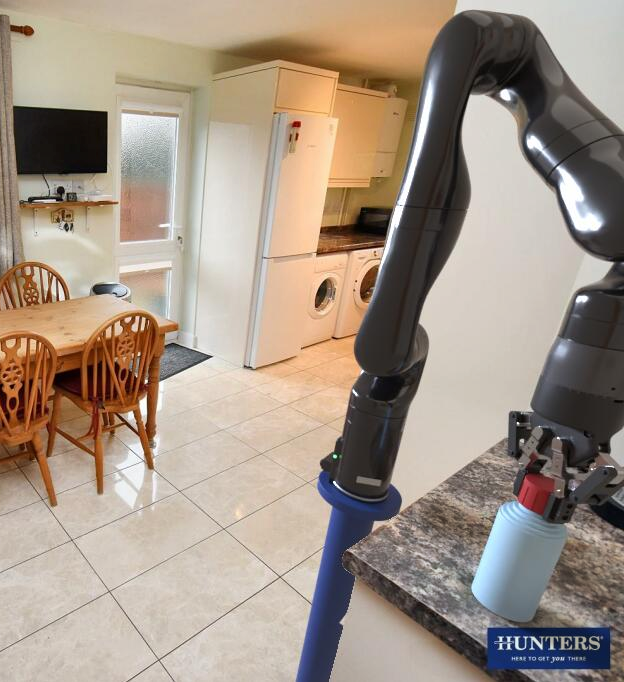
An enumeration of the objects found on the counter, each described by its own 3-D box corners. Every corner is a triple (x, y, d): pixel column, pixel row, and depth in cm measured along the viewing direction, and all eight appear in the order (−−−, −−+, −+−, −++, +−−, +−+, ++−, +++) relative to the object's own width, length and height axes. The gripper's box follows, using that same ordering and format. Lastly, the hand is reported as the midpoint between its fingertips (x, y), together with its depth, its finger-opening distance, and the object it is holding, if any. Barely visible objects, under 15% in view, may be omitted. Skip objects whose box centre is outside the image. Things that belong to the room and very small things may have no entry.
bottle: (465, 597, 59) (505, 484, 54) (477, 573, 63) (516, 465, 58) (528, 632, 55) (580, 512, 49) (537, 603, 59) (586, 489, 53)
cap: (514, 504, 54) (522, 481, 53) (520, 491, 57) (528, 469, 56) (557, 522, 52) (567, 498, 51) (562, 507, 54) (571, 484, 53)
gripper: (502, 356, 56) (466, 472, 61) (614, 408, 42) (555, 551, 48) (566, 358, 55) (523, 476, 61) (700, 412, 42) (630, 556, 47)
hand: (537, 508), depth 54 cm, fingers closed on cap, 4 cm apart
